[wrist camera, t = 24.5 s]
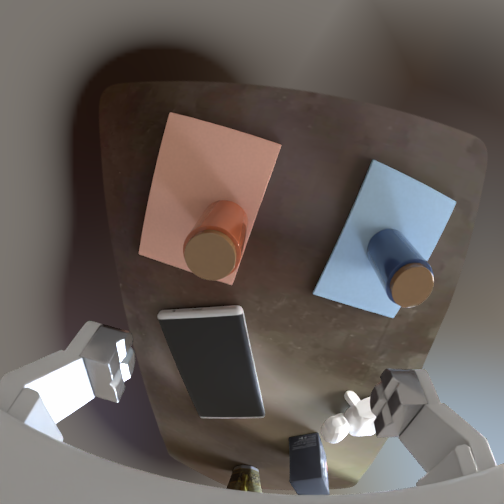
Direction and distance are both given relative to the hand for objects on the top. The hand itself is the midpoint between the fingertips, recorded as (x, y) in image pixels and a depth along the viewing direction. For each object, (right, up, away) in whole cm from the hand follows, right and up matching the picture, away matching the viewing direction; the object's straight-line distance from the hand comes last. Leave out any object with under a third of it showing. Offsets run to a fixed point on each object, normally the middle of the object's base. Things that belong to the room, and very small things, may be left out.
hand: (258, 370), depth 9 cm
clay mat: (-6, +10, +30) cm, 33 cm away
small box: (+13, -42, +53) cm, 69 cm away
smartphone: (-6, -16, +43) cm, 46 cm away
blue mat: (+18, +4, +31) cm, 36 cm away
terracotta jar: (-4, +7, +31) cm, 32 cm away
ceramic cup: (-2, -53, +60) cm, 80 cm away
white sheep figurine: (+20, -26, +45) cm, 56 cm away
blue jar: (+18, +4, +31) cm, 36 cm away
